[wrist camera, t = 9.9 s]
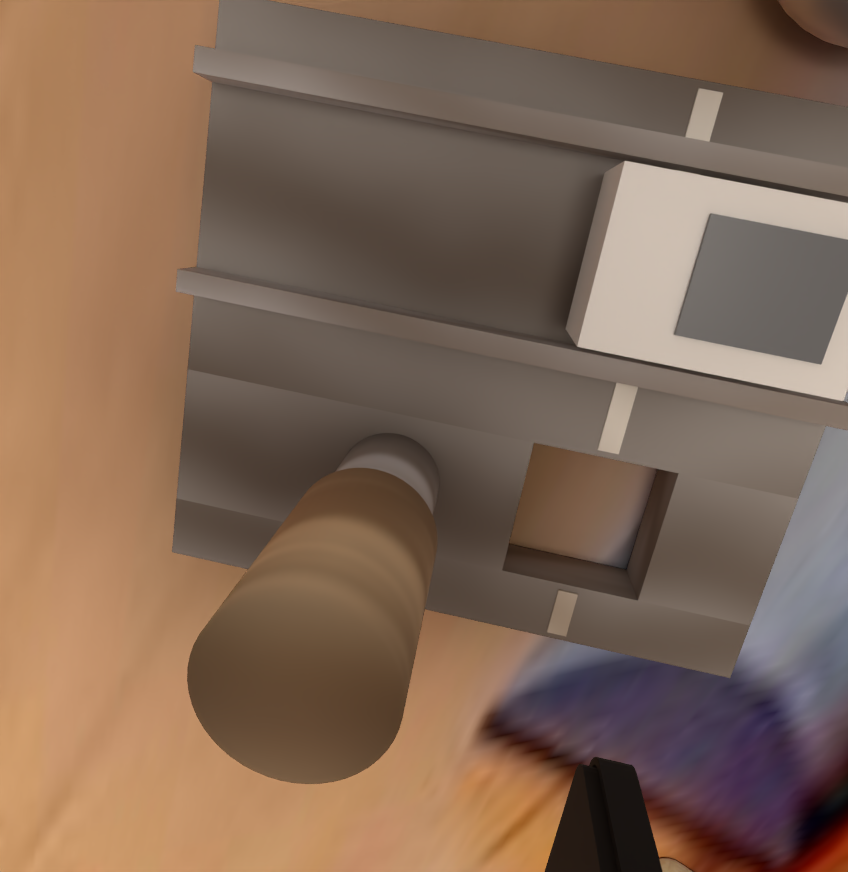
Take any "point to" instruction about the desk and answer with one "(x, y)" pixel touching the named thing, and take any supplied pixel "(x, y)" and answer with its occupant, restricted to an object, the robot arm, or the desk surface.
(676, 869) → the grandmother figurine
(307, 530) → the tan cylinder
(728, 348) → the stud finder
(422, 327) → the grey ridged panel
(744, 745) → the desk surface
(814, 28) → the plastic bottle
